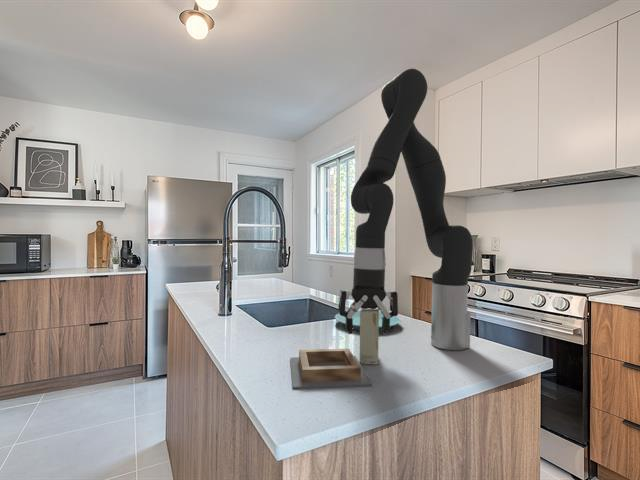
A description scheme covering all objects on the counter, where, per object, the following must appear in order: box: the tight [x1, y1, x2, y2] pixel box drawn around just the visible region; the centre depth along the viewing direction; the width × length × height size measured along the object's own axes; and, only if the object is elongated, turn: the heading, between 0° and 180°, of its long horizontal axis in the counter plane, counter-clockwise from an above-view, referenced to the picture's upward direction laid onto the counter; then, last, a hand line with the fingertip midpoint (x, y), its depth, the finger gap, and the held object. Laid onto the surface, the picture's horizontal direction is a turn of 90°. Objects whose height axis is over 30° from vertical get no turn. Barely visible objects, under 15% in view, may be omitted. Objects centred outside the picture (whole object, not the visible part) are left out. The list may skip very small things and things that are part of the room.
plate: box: [334, 310, 402, 332], centre depth 114 cm, size 22×22×3 cm
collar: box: [298, 348, 361, 382], centre depth 75 cm, size 12×12×2 cm
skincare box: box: [359, 308, 380, 366], centre depth 82 cm, size 6×4×12 cm
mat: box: [289, 355, 374, 390], centre depth 75 cm, size 16×16×1 cm
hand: (367, 333), depth 82 cm, fingers open, 8 cm apart
